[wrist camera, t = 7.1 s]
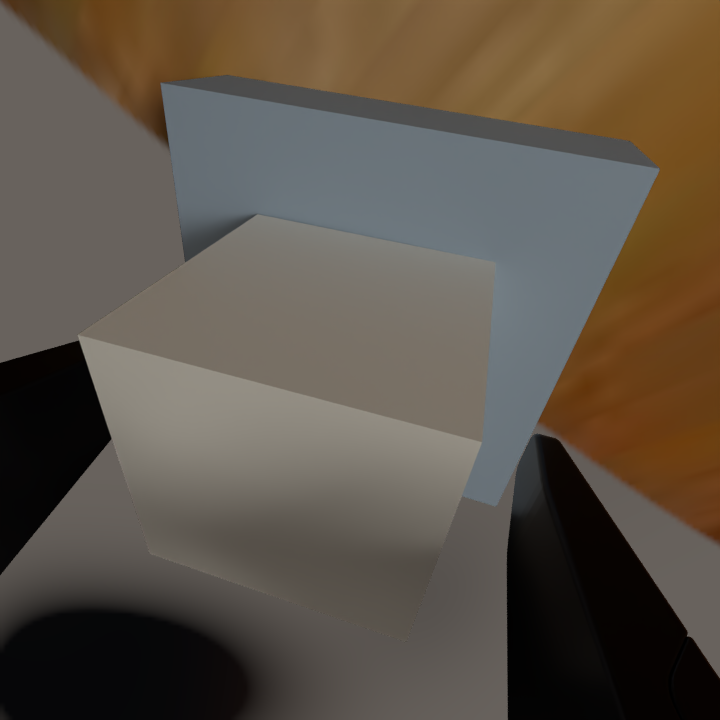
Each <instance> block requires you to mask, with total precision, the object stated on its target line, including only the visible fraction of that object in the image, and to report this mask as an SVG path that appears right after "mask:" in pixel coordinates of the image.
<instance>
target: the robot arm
mask: <svg viewBox="0 0 720 720" xmlns="http://www.w3.org/2000/svg"><path fill="white" fill-rule="evenodd" d="M111 439H112V438H111V435H110V432H109V429H108V426H107V423H106V420H105V417H104V414H103V411H102V408H101V405H100V402H99V399H98V396H97V393H96V390H95V387H94V384H93V381H92V378H91V375H90V372H89V368H88V365H87V362H86V359H85V356H84V353H83V350H82V347H81V344H80V341H76V342H72V343H69V344H65V345H62V346H58V347H55V348H51V349H47V350H44V351H40V352H37V353H33V354H30V355H26V356H23V357H20V358H16V359H12V360H9V361H6V362H2V363H0V575H1V574H2V572H3V571H4V570H5V569H6V567H7V566H8V565H9V564H10V563H11V561H12V560H13V559H14V558H15V556H16V555H17V554H18V553H19V551H20V550H21V549H22V548H23V547H24V545H25V544H26V543H27V542H28V540H29V539H30V538H31V537H32V536H33V534H34V533H35V532H36V531H37V529H38V528H39V527H40V526H41V525H42V523H43V522H44V521H45V520H46V519H47V517H48V516H49V515H50V513H51V512H52V511H53V510H54V509H55V507H56V506H57V505H58V504H59V503H60V501H61V500H62V499H63V498H64V496H65V495H66V494H67V493H68V491H69V490H70V489H71V488H72V487H73V485H74V484H75V483H76V482H77V481H78V479H79V478H80V477H81V476H82V474H83V473H84V472H85V471H86V470H87V468H88V467H89V466H90V465H91V463H92V462H93V461H94V460H95V459H96V457H97V456H98V455H99V454H100V452H101V451H102V450H103V449H104V448H105V446H106V445H107V444H108V443H109V441H110V440H111ZM687 634H688V632H687V630H686V628H685V627H684V625H683V624H682V622H681V621H680V619H679V618H678V617H677V615H676V613H675V612H674V611H673V609H672V607H671V606H670V604H669V603H668V602H667V600H666V598H665V597H664V596H663V594H662V593H661V591H660V590H659V588H658V587H657V585H656V584H655V582H654V581H653V579H652V578H651V576H650V575H649V573H648V572H647V570H646V569H645V567H644V566H643V564H642V563H641V561H640V560H639V558H638V557H637V555H636V554H635V552H634V551H633V549H632V548H631V546H630V545H629V543H628V542H627V541H626V539H625V537H624V536H623V535H622V533H621V532H620V530H619V529H618V527H617V526H616V524H615V523H614V522H613V520H612V518H611V517H610V515H609V514H608V512H607V511H606V510H605V508H604V506H603V505H602V503H601V502H600V501H599V499H598V497H597V496H596V494H595V493H594V491H593V490H592V488H591V487H590V485H589V484H588V483H587V481H586V479H585V478H584V476H583V475H582V474H581V472H580V471H579V469H578V468H577V466H576V465H575V463H574V462H573V460H572V459H571V457H570V456H569V454H568V453H567V451H566V450H565V448H564V447H563V445H562V444H561V442H560V441H559V440H557V439H556V438H552V437H549V436H545V435H541V434H534V435H533V436H532V437H531V439H530V441H529V443H528V445H527V447H526V449H525V452H524V454H523V456H522V458H521V460H520V462H519V465H518V468H517V472H516V478H515V487H514V496H513V504H512V513H511V521H510V530H509V538H508V548H507V657H508V658H507V666H508V667H507V672H508V720H720V678H719V677H718V675H717V674H716V672H715V671H714V670H713V668H712V667H711V665H710V664H709V662H708V661H707V659H706V658H705V656H704V655H703V653H702V652H701V650H700V649H699V647H698V646H697V644H696V643H695V641H694V640H693V639H692V638H691V637H687Z"/></svg>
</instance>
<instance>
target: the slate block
mask: <svg viewBox="0 0 720 720" xmlns="http://www.w3.org/2000/svg"><path fill="white" fill-rule="evenodd" d="M161 90H162V97H163V104H164V111H165V119H166V126H167V133H168V141H169V148H170V155H171V162H172V169H173V177H174V184H175V191H176V199H177V206H178V213H179V220H180V228H181V235H182V242H183V249H184V257H185V262H187V261H188V260H190V259H191V258H193V257H194V256H196V255H197V254H199V253H200V252H202V251H203V250H205V249H206V248H208V247H209V246H211V245H212V244H214V243H215V242H217V241H218V240H220V239H221V238H223V237H224V236H226V235H227V234H229V233H230V232H232V231H233V230H235V229H236V228H238V227H239V226H241V225H242V224H244V223H245V222H247V221H248V220H250V219H251V218H253V217H254V216H256V215H257V214H259V215H264V216H269V217H274V218H279V219H284V220H289V221H294V222H299V223H304V224H309V225H314V226H319V227H324V228H329V229H334V230H339V231H344V232H349V233H354V234H358V235H363V236H368V237H373V238H378V239H383V240H388V241H393V242H398V243H403V244H408V245H413V246H418V247H423V248H428V249H433V250H438V251H443V252H448V253H453V254H458V255H463V256H468V257H473V258H477V259H482V260H487V261H492V262H496V264H495V277H494V291H493V304H492V317H491V331H490V344H489V357H488V371H487V384H486V397H485V411H484V424H483V437H482V444H481V447H480V449H479V452H478V454H477V457H476V460H475V462H474V465H473V468H472V470H471V473H470V476H469V478H468V481H467V483H466V486H465V489H464V491H463V494H462V496H464V497H467V498H470V499H473V500H476V501H479V502H483V503H486V504H489V505H493V506H497V504H498V502H499V500H500V498H501V496H502V494H503V491H504V490H505V487H506V485H507V483H508V481H509V479H510V477H511V475H512V473H513V471H514V469H515V467H516V465H517V463H518V461H519V459H520V457H521V454H522V452H523V450H524V448H525V446H526V444H527V442H528V440H529V438H530V436H531V434H532V432H533V430H534V428H535V426H536V424H537V422H538V419H539V417H540V415H541V413H542V411H543V409H544V407H545V405H546V403H547V401H548V399H549V397H550V395H551V393H552V391H553V389H554V386H555V384H556V382H557V380H558V378H559V376H560V374H561V372H562V370H563V368H564V366H565V364H566V362H567V360H568V358H569V356H570V354H571V351H572V349H573V347H574V345H575V343H576V341H577V339H578V337H579V335H580V333H581V331H582V329H583V327H584V325H585V323H586V321H587V318H588V316H589V314H590V312H591V310H592V308H593V306H594V304H595V302H596V300H597V298H598V296H599V294H600V292H601V290H602V288H603V285H604V283H605V281H606V279H607V277H608V275H609V273H610V271H611V269H612V267H613V265H614V263H615V261H616V259H617V257H618V255H619V253H620V250H621V248H622V246H623V244H624V242H625V240H626V238H627V236H628V234H629V232H630V230H631V228H632V226H633V224H634V222H635V220H636V217H637V215H638V213H639V211H640V209H641V207H642V205H643V203H644V201H645V199H646V197H647V195H648V193H649V191H650V189H651V187H652V185H653V182H654V180H655V178H656V176H657V174H658V172H659V170H660V168H659V167H658V166H656V165H655V164H654V163H653V162H652V161H651V160H650V159H649V158H648V157H647V156H646V155H644V154H643V153H642V152H641V151H640V150H639V149H638V148H637V147H636V146H635V145H634V144H633V143H631V142H630V141H626V140H620V139H614V138H608V137H602V136H596V135H590V134H584V133H577V132H571V131H565V130H559V129H553V128H547V127H541V126H535V125H529V124H523V123H516V122H510V121H504V120H498V119H492V118H486V117H480V116H474V115H468V114H462V113H455V112H449V111H443V110H437V109H431V108H425V107H419V106H413V105H407V104H401V103H394V102H388V101H382V100H376V99H370V98H364V97H358V96H352V95H346V94H340V93H334V92H327V91H321V90H315V89H309V88H303V87H297V86H291V85H285V84H279V83H273V82H266V81H260V80H254V79H248V78H242V77H236V76H230V75H224V76H215V77H207V78H198V79H189V80H181V81H172V82H164V83H161Z"/></svg>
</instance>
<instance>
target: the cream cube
mask: <svg viewBox="0 0 720 720" xmlns="http://www.w3.org/2000/svg"><path fill="white" fill-rule="evenodd" d="M495 264H496V262H492V261H487V260H482V259H477V258H473V257H468V256H463V255H458V254H453V253H448V252H443V251H438V250H433V249H428V248H423V247H418V246H413V245H408V244H403V243H398V242H393V241H388V240H383V239H378V238H373V237H368V236H363V235H358V234H354V233H349V232H344V231H339V230H334V229H329V228H324V227H319V226H314V225H309V224H304V223H299V222H294V221H289V220H284V219H279V218H274V217H269V216H264V215H259V214H257V215H256V216H254V217H253V218H251V219H250V220H248V221H247V222H245V223H244V224H242V225H241V226H239V227H238V228H236V229H235V230H233V231H232V232H230V233H229V234H227V235H226V236H224V237H223V238H221V239H220V240H218V241H217V242H215V243H214V244H212V245H211V246H209V247H208V248H206V249H205V250H203V251H202V252H200V253H199V254H197V255H196V256H194V257H193V258H191V259H190V260H188V261H187V262H185V263H184V264H182V265H181V266H180V267H178V268H176V269H175V270H174V271H172V272H170V273H169V274H168V275H166V276H164V277H163V278H162V279H160V280H159V281H157V282H155V283H154V284H152V285H151V286H150V287H148V288H147V289H145V290H144V291H142V292H141V293H139V294H138V295H136V296H135V297H133V298H132V299H130V300H129V301H127V302H126V303H124V304H123V305H121V306H120V307H118V308H117V309H115V310H114V311H112V312H111V313H109V314H108V315H106V316H105V317H103V318H102V319H100V320H99V321H97V322H96V323H94V324H93V325H91V326H90V327H88V328H87V329H85V330H84V331H82V332H81V333H79V334H78V338H79V341H80V344H81V347H82V350H83V353H84V356H85V359H86V362H87V365H88V368H89V372H90V375H91V378H92V381H93V384H94V387H95V390H96V393H97V396H98V399H99V402H100V405H101V408H102V411H103V414H104V417H105V420H106V423H107V426H108V429H109V432H110V435H111V438H112V441H113V444H114V447H115V450H116V453H117V456H118V459H119V462H120V465H121V468H122V471H123V475H124V478H125V481H126V484H127V487H128V489H129V493H130V496H131V499H132V501H133V505H134V508H135V511H136V514H137V517H138V520H139V523H140V526H141V529H142V532H143V535H144V538H145V541H146V544H147V547H148V550H149V553H150V554H152V555H155V556H158V557H161V558H164V559H167V560H170V561H173V562H175V563H178V564H182V565H184V566H187V567H190V568H193V569H196V570H199V571H202V572H204V573H208V574H210V575H213V576H216V577H219V578H222V579H225V580H228V581H230V582H234V583H236V584H239V585H242V586H245V587H248V588H251V589H254V590H257V591H260V592H263V593H265V594H268V595H271V596H274V597H277V598H280V599H283V600H286V601H289V602H291V603H295V604H297V605H300V606H303V607H306V608H309V609H312V610H315V611H318V612H320V613H323V614H326V615H329V616H332V617H335V618H338V619H341V620H343V621H347V622H349V623H352V624H355V625H358V626H361V627H364V628H367V629H370V630H372V631H375V632H378V633H381V634H384V635H387V636H390V637H393V638H396V639H399V640H401V641H405V642H406V641H407V639H408V636H409V634H410V631H411V628H412V625H413V623H414V621H415V618H416V615H417V613H418V610H419V607H420V604H421V602H422V599H423V597H424V594H425V592H426V589H427V586H428V584H429V581H430V578H431V576H432V573H433V570H434V568H435V565H436V563H437V560H438V557H439V555H440V552H441V549H442V547H443V544H444V541H445V539H446V536H447V534H448V530H449V528H450V526H451V523H452V520H453V518H454V515H455V512H456V510H457V507H458V505H459V502H460V499H461V497H462V494H463V491H464V489H465V486H466V483H467V481H468V478H469V476H470V473H471V470H472V468H473V465H474V462H475V460H476V457H477V454H478V452H479V449H480V447H481V444H482V437H483V424H484V411H485V397H486V384H487V371H488V357H489V344H490V331H491V317H492V304H493V291H494V277H495Z"/></svg>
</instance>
